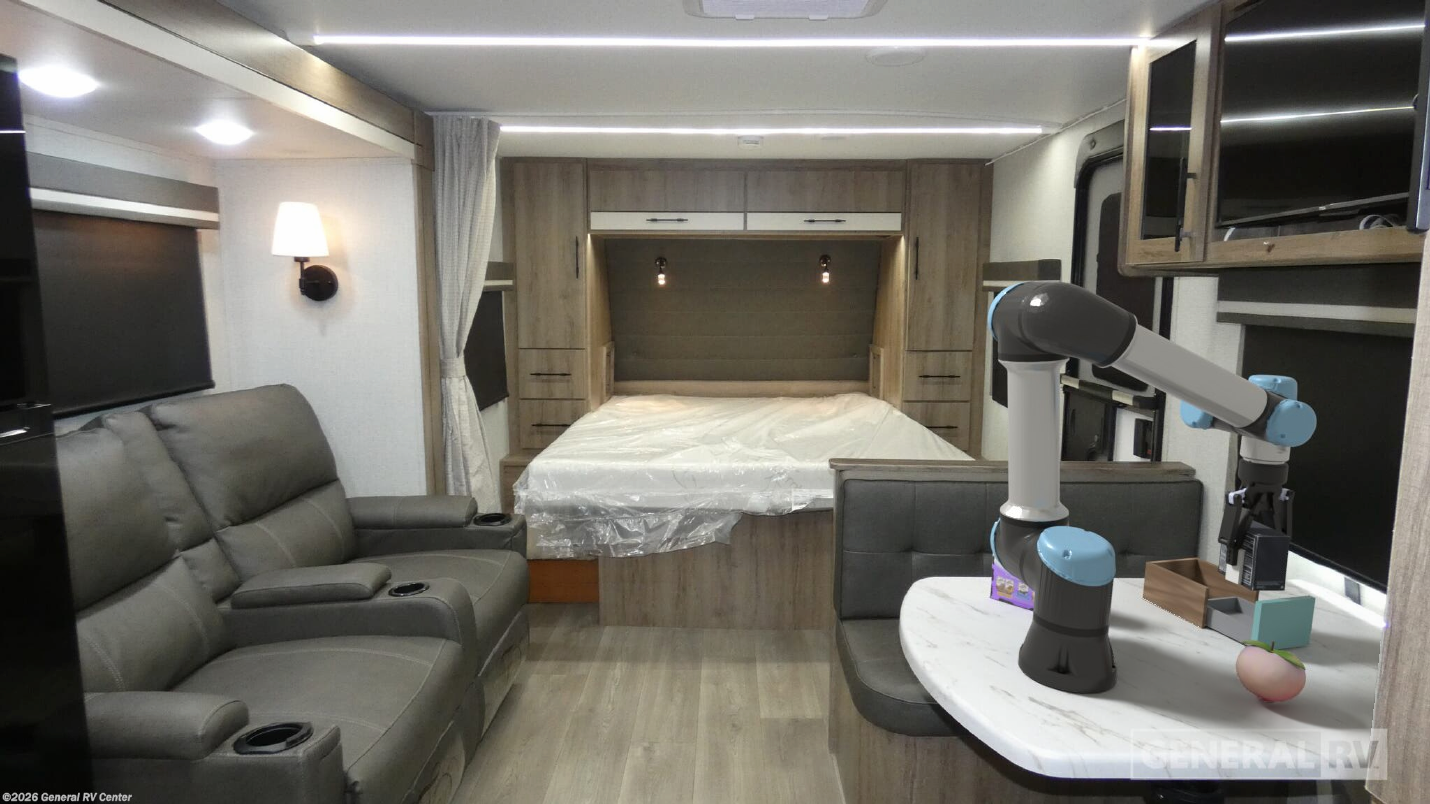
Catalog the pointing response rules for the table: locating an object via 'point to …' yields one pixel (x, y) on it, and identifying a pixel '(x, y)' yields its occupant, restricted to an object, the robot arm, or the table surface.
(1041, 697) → the table surface
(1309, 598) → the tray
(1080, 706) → the table surface
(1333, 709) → the table surface
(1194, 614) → the cubby
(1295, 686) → the decorative fruit
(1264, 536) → the small box
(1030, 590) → the candy box
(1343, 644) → the table surface
